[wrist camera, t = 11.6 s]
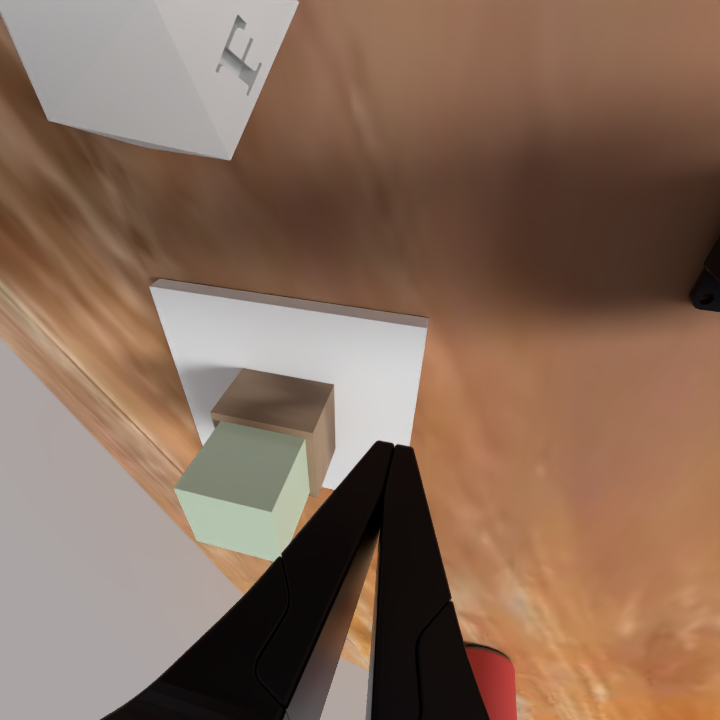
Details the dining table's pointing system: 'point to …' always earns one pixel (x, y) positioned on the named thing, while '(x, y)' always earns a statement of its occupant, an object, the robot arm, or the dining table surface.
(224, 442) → the green block
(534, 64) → the dining table surface
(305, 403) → the walnut block
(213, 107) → the white letter block
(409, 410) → the build plate
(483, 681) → the beer can
